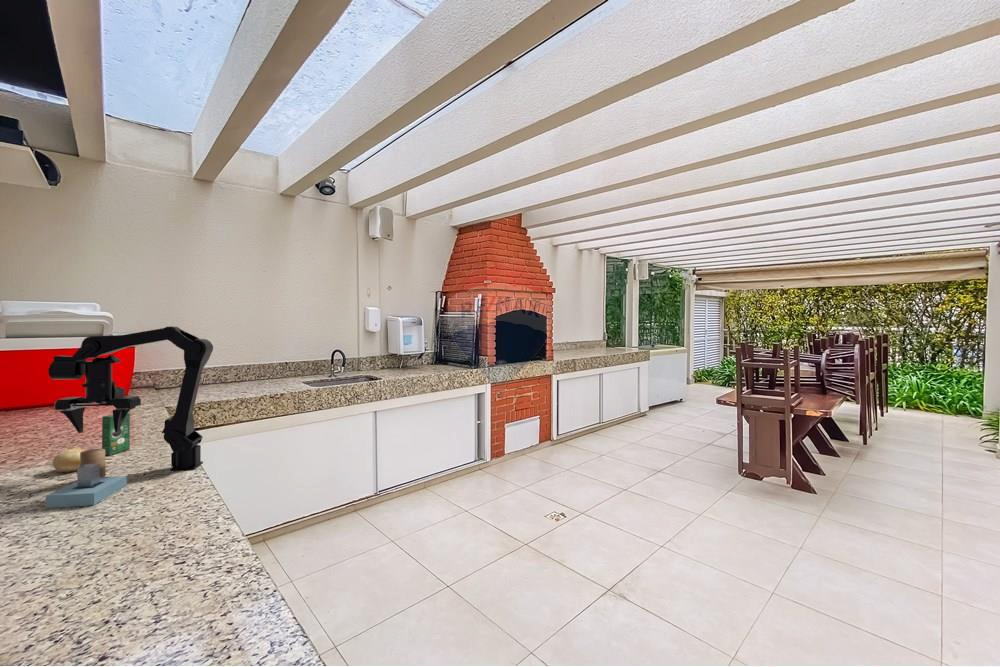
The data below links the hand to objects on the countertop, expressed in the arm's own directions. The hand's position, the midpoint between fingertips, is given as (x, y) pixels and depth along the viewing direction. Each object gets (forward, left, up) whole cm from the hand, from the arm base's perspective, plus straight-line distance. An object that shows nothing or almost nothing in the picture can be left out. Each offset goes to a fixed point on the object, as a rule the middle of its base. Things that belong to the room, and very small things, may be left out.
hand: (99, 432), depth 129 cm
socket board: (-10, +19, -12) cm, 25 cm away
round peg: (-2, +5, -12) cm, 13 cm away
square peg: (-10, +19, -12) cm, 25 cm away
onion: (+10, -5, -12) cm, 17 cm away
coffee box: (+9, -23, -12) cm, 27 cm away
